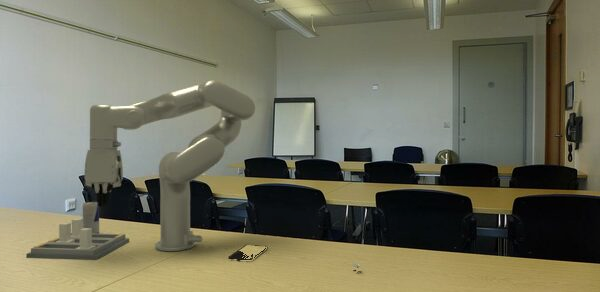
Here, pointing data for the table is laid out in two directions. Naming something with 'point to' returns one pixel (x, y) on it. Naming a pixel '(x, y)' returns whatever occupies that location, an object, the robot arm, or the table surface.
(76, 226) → the right tab
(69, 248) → the switch bank
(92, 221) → the energy drink
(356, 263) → the adhesive hook
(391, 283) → the table surface
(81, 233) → the left tab
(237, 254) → the phone
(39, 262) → the table surface
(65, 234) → the middle tab
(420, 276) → the table surface
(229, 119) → the robot arm
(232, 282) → the table surface
